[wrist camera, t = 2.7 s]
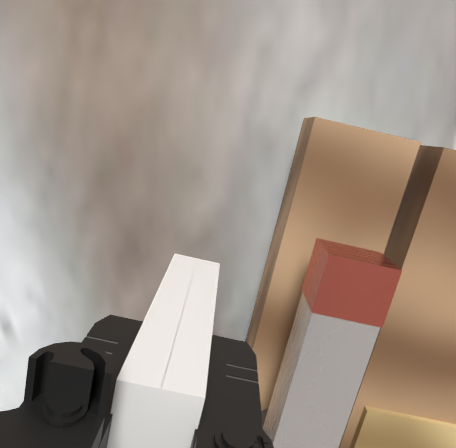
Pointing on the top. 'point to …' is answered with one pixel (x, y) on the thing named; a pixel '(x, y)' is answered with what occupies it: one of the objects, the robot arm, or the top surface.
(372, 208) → the door boards
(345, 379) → the latch arm
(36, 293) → the top surface
